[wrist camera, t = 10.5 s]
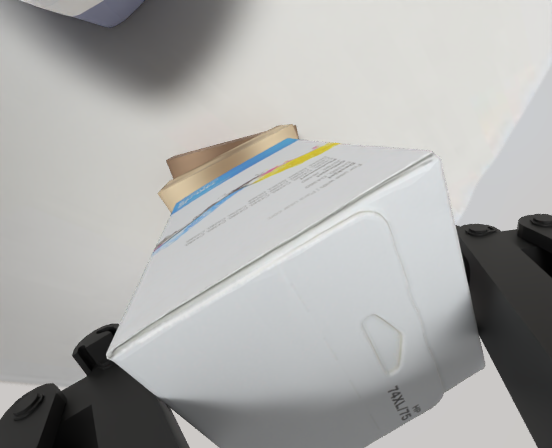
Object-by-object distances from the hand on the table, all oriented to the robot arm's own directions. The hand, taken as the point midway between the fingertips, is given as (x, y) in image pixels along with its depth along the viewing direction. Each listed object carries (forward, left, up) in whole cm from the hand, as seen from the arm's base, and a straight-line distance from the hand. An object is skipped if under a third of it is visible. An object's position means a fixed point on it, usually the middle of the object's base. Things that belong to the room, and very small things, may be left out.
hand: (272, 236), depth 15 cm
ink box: (0, 0, -3) cm, 3 cm away
